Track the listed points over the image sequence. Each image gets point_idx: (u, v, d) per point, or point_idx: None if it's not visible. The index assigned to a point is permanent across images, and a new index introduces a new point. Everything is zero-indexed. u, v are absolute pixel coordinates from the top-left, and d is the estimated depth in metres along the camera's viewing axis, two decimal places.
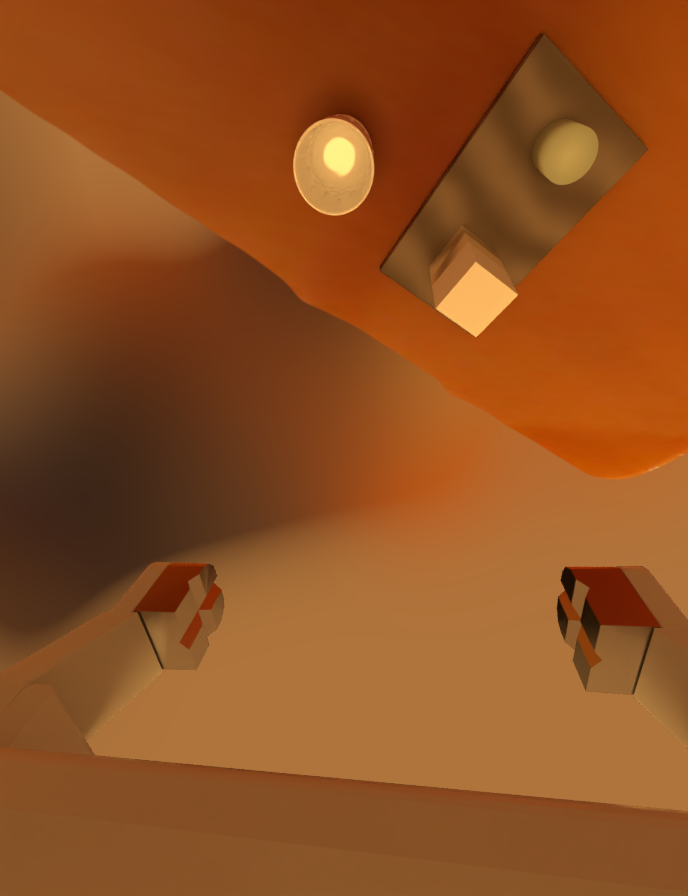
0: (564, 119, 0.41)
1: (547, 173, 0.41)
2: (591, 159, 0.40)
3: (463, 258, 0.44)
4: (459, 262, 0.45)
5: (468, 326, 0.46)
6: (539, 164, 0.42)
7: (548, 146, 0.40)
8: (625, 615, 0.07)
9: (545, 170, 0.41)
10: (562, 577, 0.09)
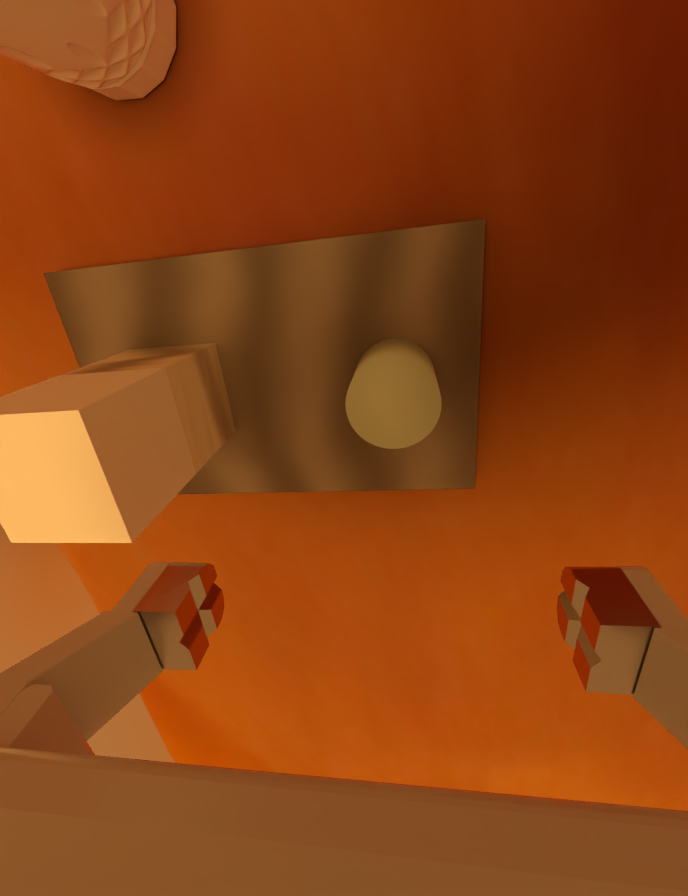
0: (426, 354, 0.23)
1: (349, 395, 0.20)
2: (412, 438, 0.21)
3: (113, 383, 0.18)
4: (105, 382, 0.18)
5: (3, 512, 0.17)
6: (354, 373, 0.22)
7: (377, 360, 0.20)
8: (625, 615, 0.07)
9: (350, 388, 0.20)
10: (562, 577, 0.09)
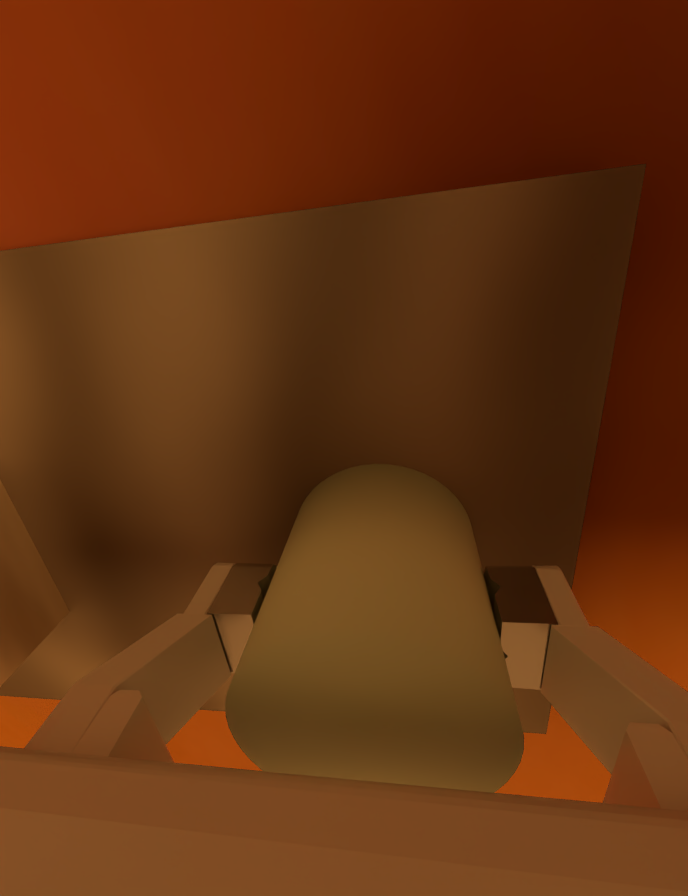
0: (457, 508, 0.10)
1: (233, 702, 0.07)
2: None
3: None
4: None
5: None
6: (269, 587, 0.08)
7: (313, 622, 0.06)
8: (528, 612, 0.07)
9: (234, 685, 0.07)
10: None
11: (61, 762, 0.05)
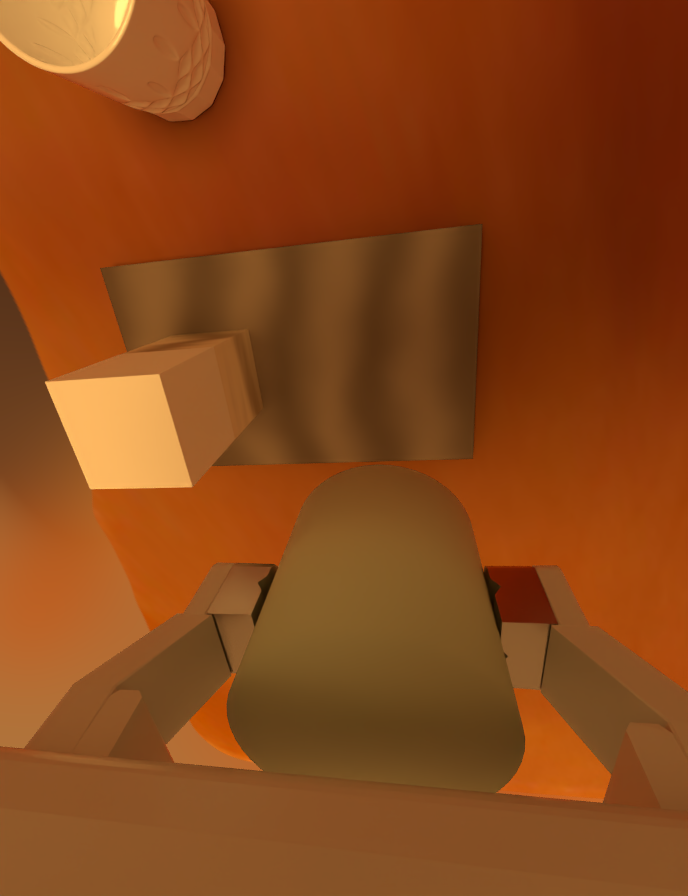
0: (458, 509, 0.10)
1: (235, 703, 0.07)
2: None
3: (175, 357, 0.22)
4: (168, 357, 0.22)
5: (86, 462, 0.21)
6: (270, 587, 0.08)
7: (315, 623, 0.06)
8: (528, 612, 0.07)
9: (236, 686, 0.07)
10: None
11: (61, 762, 0.05)
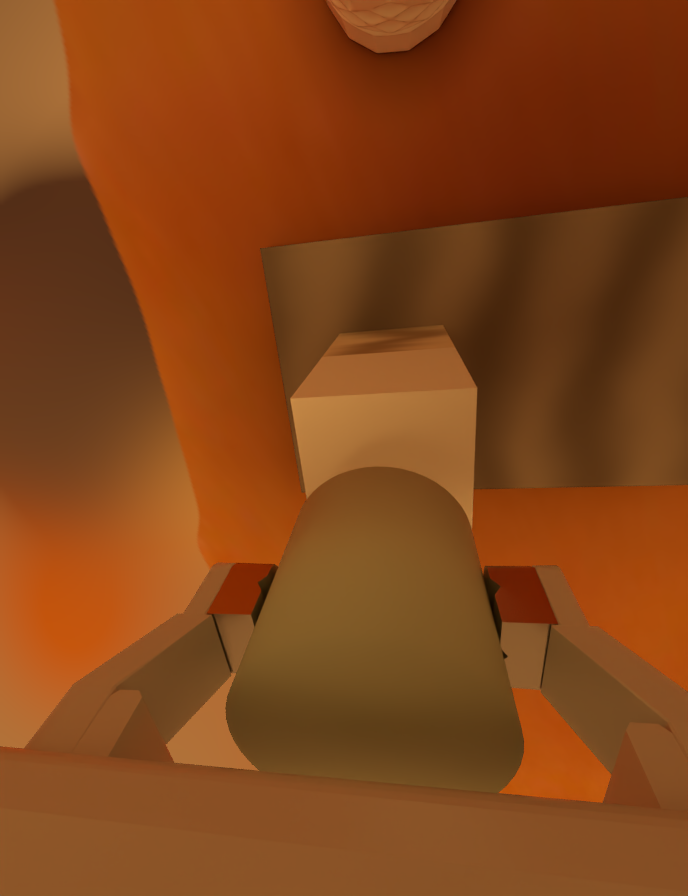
0: (457, 511, 0.10)
1: (234, 706, 0.07)
2: None
3: (431, 361, 0.16)
4: (416, 361, 0.16)
5: None
6: (269, 589, 0.08)
7: (313, 626, 0.06)
8: (528, 612, 0.07)
9: (235, 688, 0.07)
10: (483, 576, 0.09)
11: (61, 762, 0.05)
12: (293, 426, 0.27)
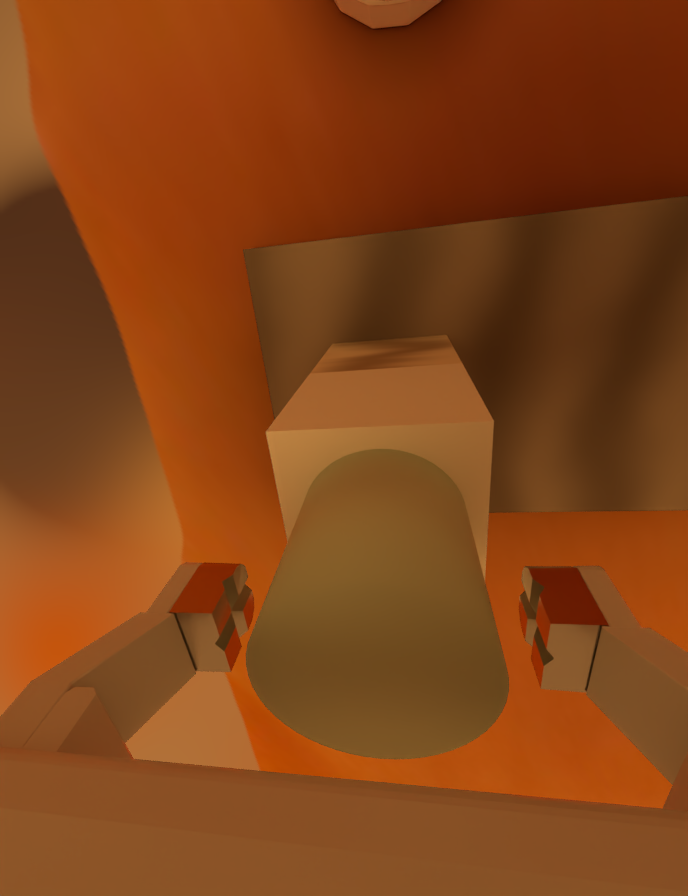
0: (452, 488, 0.10)
1: (253, 652, 0.08)
2: (423, 745, 0.08)
3: (436, 382, 0.14)
4: (417, 381, 0.14)
5: None
6: (282, 556, 0.09)
7: (325, 577, 0.07)
8: (575, 614, 0.07)
9: (254, 636, 0.07)
10: (522, 577, 0.09)
11: (61, 762, 0.05)
12: None
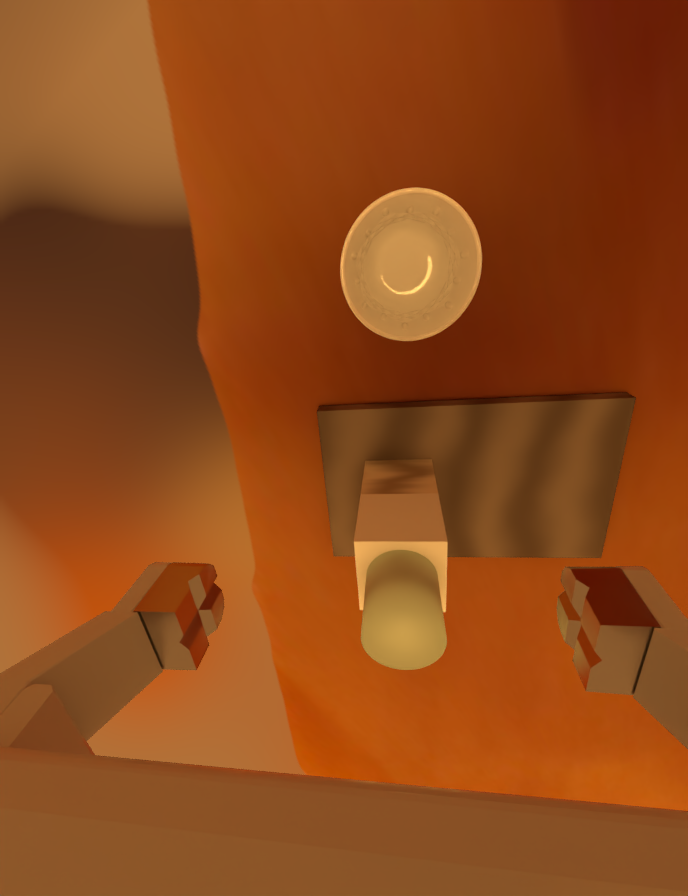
0: (431, 567, 0.26)
1: (364, 630, 0.23)
2: (419, 663, 0.24)
3: (425, 510, 0.29)
4: (416, 508, 0.30)
5: None
6: (368, 596, 0.24)
7: (390, 606, 0.22)
8: (625, 615, 0.07)
9: (365, 625, 0.23)
10: (562, 577, 0.09)
11: (61, 762, 0.05)
12: (330, 514, 0.40)
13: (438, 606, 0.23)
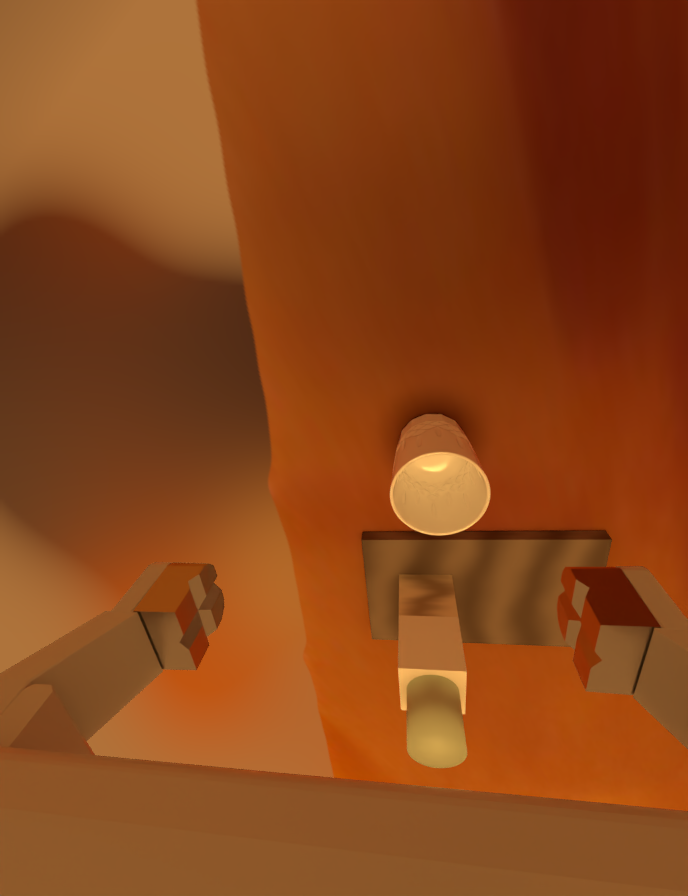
0: (454, 689, 0.36)
1: (409, 744, 0.33)
2: (448, 764, 0.34)
3: (449, 636, 0.39)
4: (442, 633, 0.40)
5: (405, 699, 0.39)
6: (410, 715, 0.35)
7: (428, 730, 0.33)
8: (625, 615, 0.07)
9: (410, 740, 0.33)
10: (562, 577, 0.09)
11: (61, 762, 0.05)
12: (370, 610, 0.51)
13: (461, 726, 0.34)
